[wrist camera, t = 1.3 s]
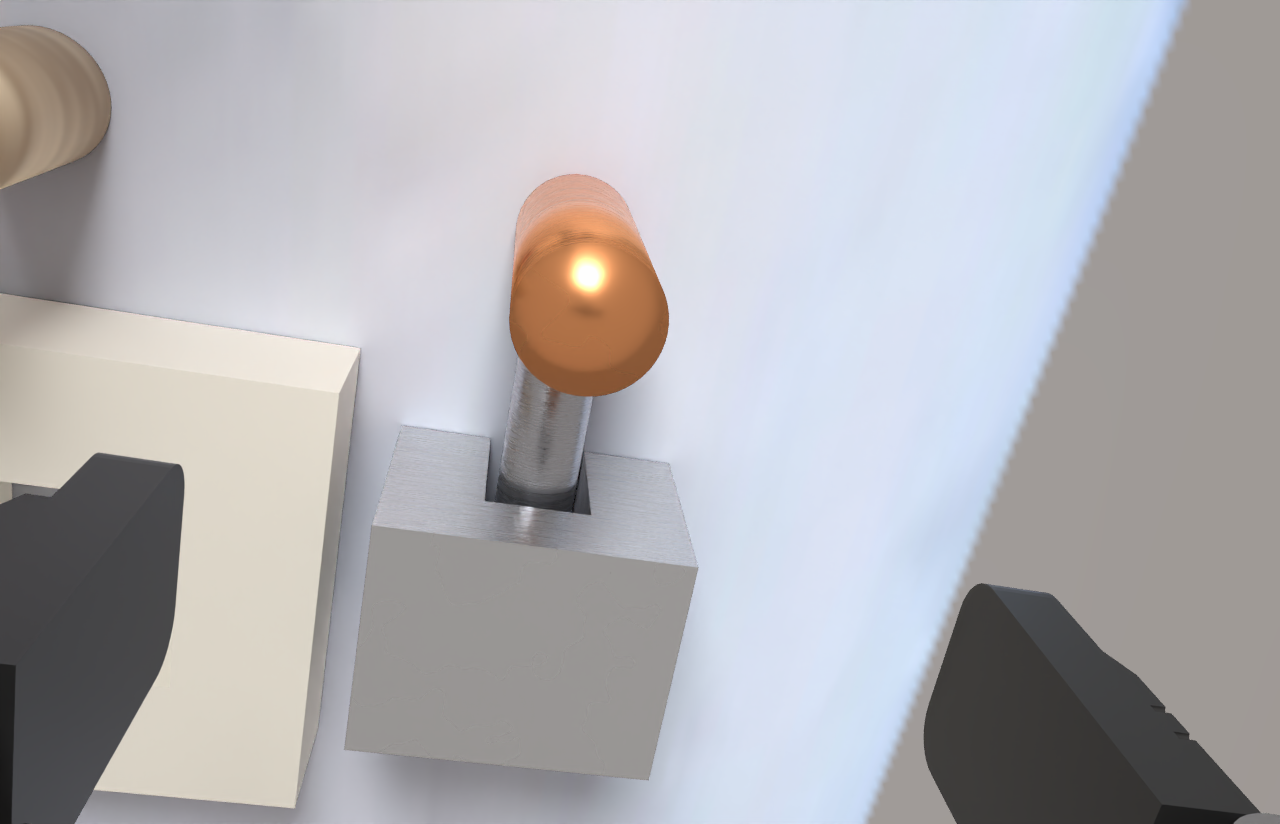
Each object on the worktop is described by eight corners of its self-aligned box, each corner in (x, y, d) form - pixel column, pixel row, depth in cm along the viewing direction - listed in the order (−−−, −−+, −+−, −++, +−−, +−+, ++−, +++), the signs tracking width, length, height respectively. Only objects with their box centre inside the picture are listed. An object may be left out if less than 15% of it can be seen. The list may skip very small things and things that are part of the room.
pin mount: (668, 463, 31) (698, 567, 26) (629, 647, 33) (648, 780, 28) (401, 425, 30) (371, 525, 25) (377, 617, 32) (344, 749, 27)
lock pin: (643, 185, 28) (683, 257, 21) (545, 701, 33) (548, 907, 26) (525, 164, 28) (522, 230, 20) (444, 690, 33) (417, 895, 26)
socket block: (-134, 272, 28) (-223, 311, 24) (360, 348, 29) (339, 393, 26) (-117, 683, 32) (-191, 763, 28) (318, 728, 33) (294, 808, 30)
